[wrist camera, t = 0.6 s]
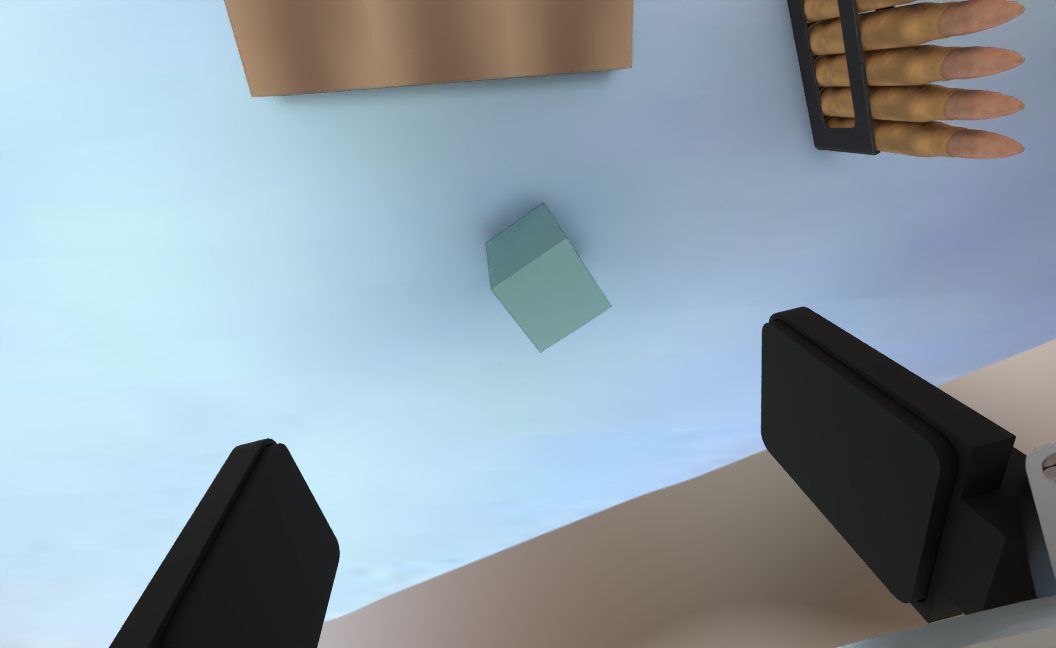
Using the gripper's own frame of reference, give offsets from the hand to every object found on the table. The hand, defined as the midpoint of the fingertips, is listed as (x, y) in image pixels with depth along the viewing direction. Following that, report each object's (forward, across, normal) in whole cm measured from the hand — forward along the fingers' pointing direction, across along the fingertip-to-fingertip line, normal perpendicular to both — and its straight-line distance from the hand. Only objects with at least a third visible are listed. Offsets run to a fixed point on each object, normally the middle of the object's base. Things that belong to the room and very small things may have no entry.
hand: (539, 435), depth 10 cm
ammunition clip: (+23, -21, -4) cm, 31 cm away
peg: (+23, -2, +4) cm, 23 cm away
